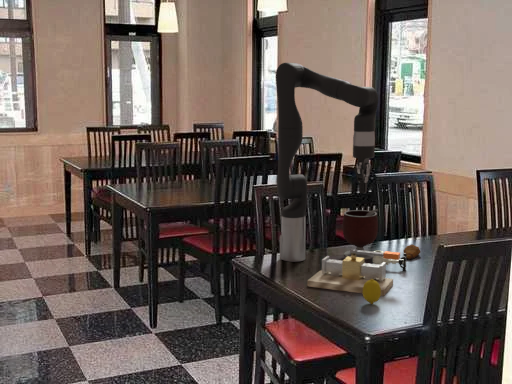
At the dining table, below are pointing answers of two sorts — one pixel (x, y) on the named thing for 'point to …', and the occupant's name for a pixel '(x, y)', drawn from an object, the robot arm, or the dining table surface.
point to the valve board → (345, 283)
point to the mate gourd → (360, 229)
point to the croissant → (411, 251)
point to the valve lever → (378, 254)
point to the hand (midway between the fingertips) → (362, 192)
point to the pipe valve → (353, 268)
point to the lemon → (371, 291)
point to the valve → (380, 260)
